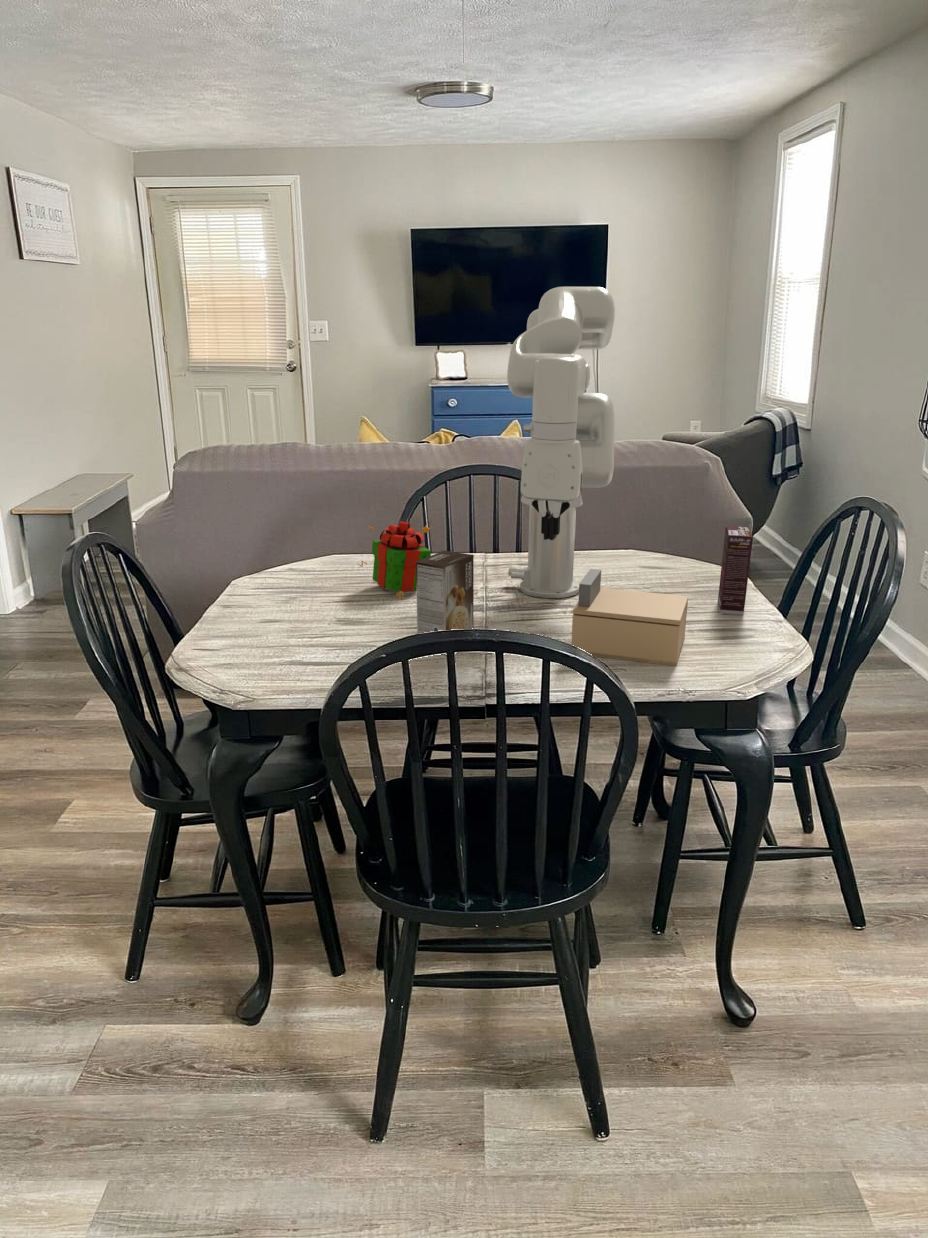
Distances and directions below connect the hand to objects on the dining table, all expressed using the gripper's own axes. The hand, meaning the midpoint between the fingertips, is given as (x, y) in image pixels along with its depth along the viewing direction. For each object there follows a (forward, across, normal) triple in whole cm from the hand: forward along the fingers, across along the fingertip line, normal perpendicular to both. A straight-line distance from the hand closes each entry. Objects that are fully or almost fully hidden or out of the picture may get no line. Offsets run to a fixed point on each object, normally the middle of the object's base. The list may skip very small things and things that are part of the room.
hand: (550, 538), depth 163 cm
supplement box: (+18, +31, +29) cm, 46 cm away
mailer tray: (+19, +15, +1) cm, 24 cm away
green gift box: (+18, -38, +22) cm, 48 cm away
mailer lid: (+11, +15, +1) cm, 19 cm away
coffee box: (+19, -16, -9) cm, 27 cm away
